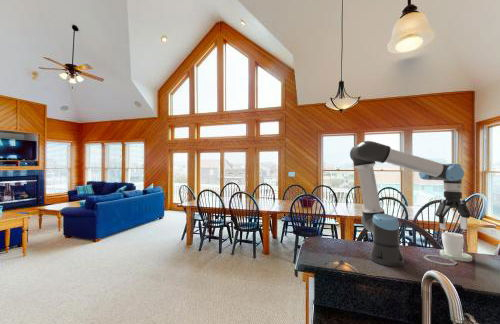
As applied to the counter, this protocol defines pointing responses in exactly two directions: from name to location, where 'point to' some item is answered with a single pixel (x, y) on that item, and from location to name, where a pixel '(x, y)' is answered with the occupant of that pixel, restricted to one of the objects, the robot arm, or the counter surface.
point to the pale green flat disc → (464, 257)
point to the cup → (453, 243)
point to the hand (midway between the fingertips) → (453, 229)
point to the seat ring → (439, 262)
